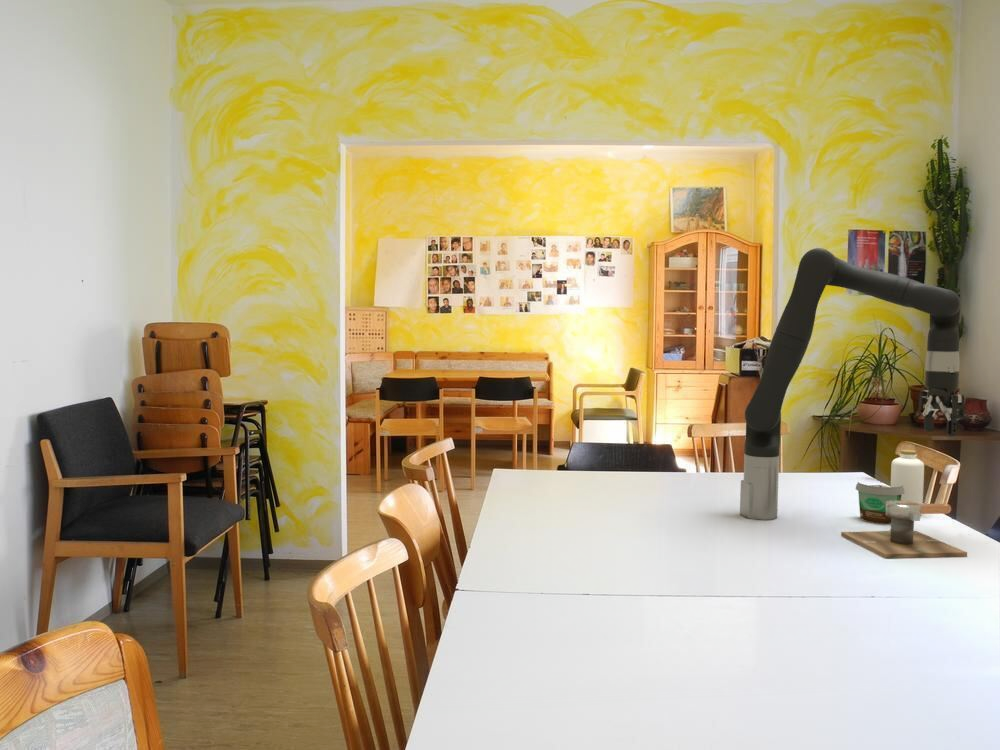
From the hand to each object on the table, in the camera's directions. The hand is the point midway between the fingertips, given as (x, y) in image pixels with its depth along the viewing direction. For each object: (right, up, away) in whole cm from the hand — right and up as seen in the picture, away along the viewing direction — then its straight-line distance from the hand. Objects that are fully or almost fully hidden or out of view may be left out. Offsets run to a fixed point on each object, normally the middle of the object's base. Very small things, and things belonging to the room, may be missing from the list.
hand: (939, 433), depth 212 cm
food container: (-8, -25, +17) cm, 32 cm away
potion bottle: (+4, -25, +26) cm, 36 cm away
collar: (-9, -19, -8) cm, 23 cm away
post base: (-13, -27, -8) cm, 31 cm away
